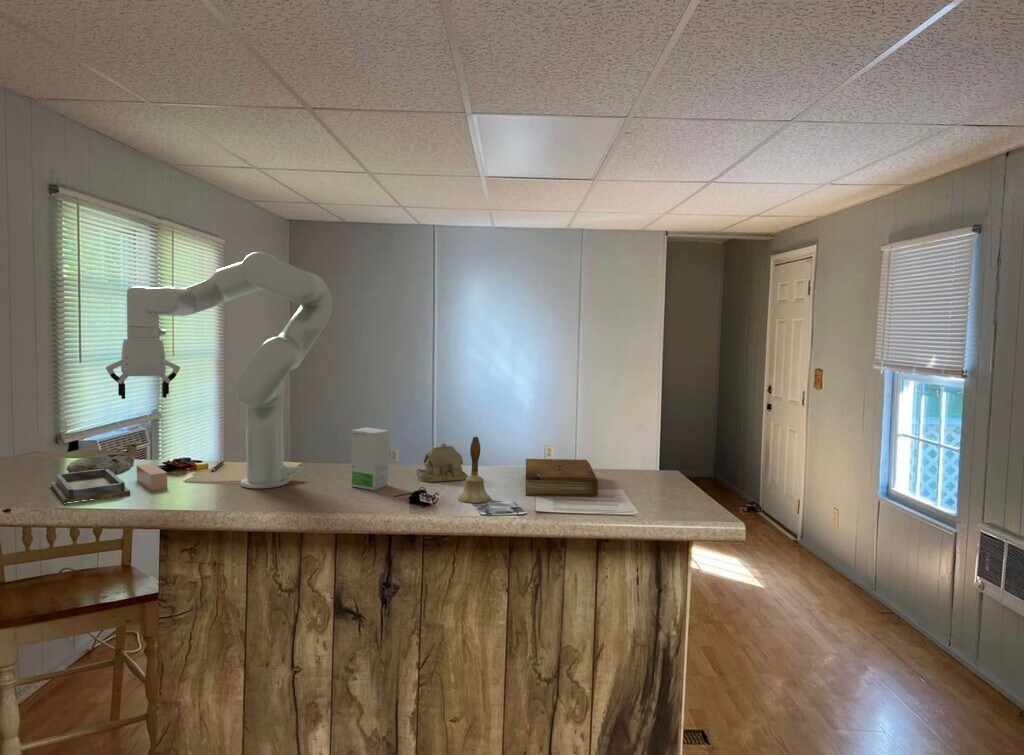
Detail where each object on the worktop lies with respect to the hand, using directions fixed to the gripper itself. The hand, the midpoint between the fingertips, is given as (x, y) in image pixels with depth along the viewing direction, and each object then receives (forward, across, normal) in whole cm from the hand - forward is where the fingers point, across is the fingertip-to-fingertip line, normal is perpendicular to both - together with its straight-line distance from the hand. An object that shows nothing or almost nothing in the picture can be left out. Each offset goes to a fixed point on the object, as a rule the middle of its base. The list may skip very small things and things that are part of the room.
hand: (144, 397), depth 177 cm
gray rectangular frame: (+24, +12, 0) cm, 27 cm away
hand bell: (+22, -68, +59) cm, 93 cm away
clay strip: (+24, -2, +1) cm, 24 cm away
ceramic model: (+22, -72, +34) cm, 83 cm away
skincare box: (+22, -51, +33) cm, 65 cm away
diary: (+22, -96, +59) cm, 114 cm away
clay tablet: (+25, +8, -26) cm, 37 cm away
